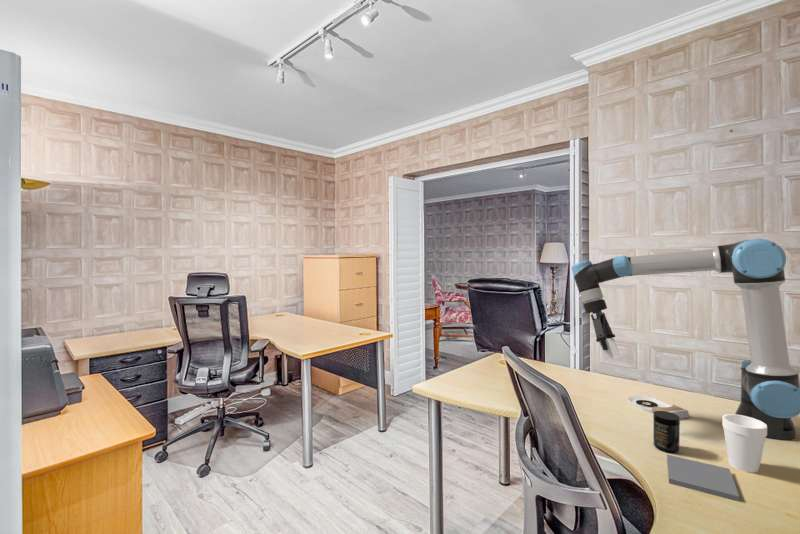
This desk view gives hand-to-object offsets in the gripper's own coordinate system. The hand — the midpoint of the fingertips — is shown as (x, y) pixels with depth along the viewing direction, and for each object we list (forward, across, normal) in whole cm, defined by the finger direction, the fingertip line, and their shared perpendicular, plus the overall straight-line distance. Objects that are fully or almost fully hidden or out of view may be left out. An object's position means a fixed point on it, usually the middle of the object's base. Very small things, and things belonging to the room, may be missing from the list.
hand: (612, 357), depth 138 cm
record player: (+23, -22, +4) cm, 32 cm away
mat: (+32, +25, +15) cm, 44 cm away
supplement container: (+28, +12, +8) cm, 32 cm away
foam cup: (+34, +11, +25) cm, 44 cm away
